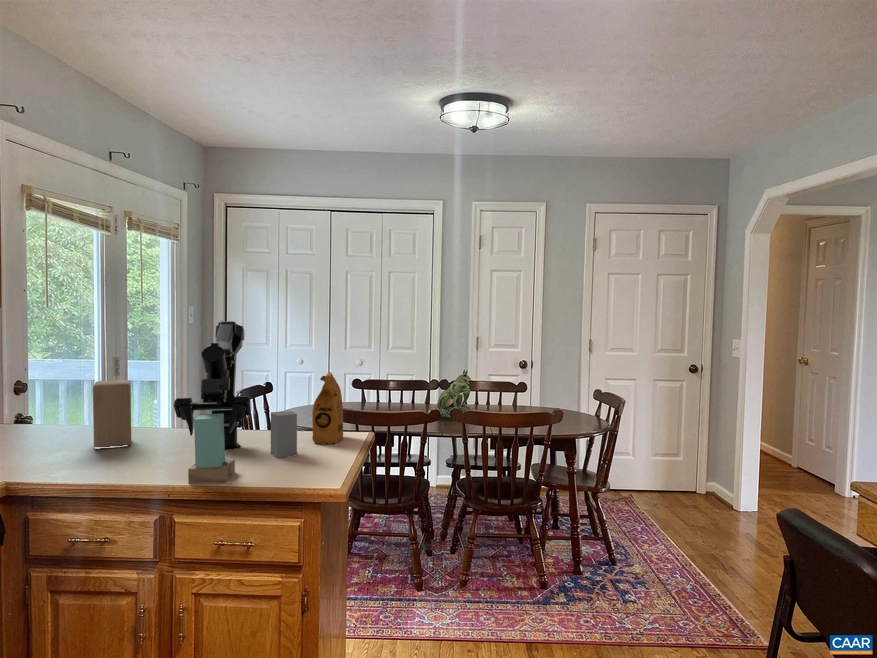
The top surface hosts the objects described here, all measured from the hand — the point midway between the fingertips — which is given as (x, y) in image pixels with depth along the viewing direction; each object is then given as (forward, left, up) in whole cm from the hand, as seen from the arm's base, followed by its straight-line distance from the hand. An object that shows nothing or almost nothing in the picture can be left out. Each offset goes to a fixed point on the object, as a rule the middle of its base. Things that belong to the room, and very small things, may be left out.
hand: (210, 433), depth 147 cm
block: (-51, -19, -12) cm, 56 cm away
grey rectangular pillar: (-13, +23, -12) cm, 29 cm away
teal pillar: (0, 0, -8) cm, 8 cm away
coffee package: (-23, +41, -12) cm, 49 cm away
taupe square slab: (-1, +1, -12) cm, 12 cm away
